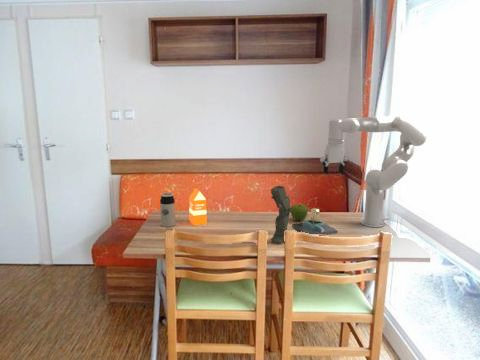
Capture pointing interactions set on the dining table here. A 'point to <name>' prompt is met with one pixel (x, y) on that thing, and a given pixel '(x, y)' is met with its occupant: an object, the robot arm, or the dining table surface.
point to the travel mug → (167, 209)
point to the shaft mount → (314, 227)
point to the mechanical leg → (280, 213)
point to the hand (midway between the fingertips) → (333, 172)
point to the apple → (299, 212)
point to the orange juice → (197, 208)
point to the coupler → (315, 216)
